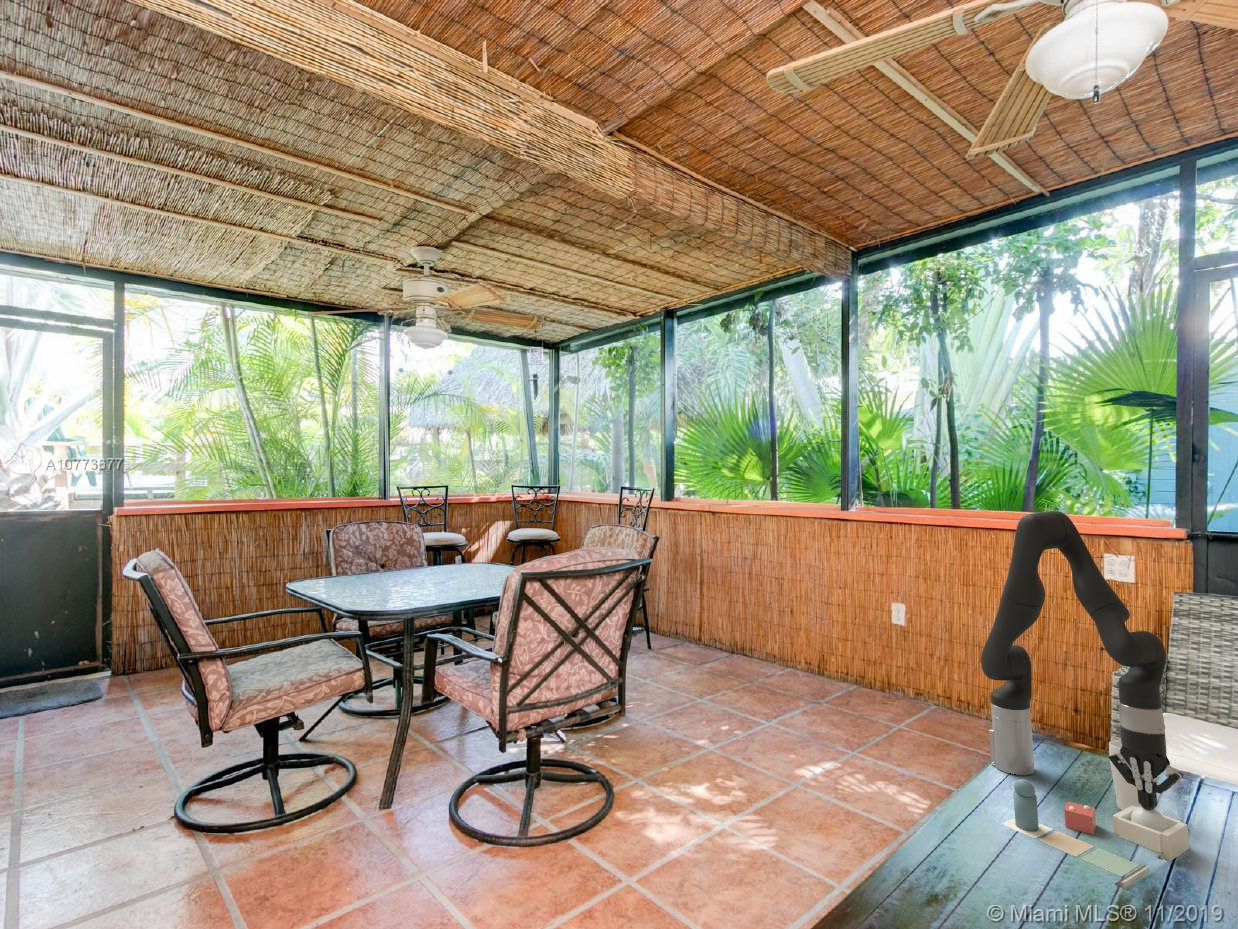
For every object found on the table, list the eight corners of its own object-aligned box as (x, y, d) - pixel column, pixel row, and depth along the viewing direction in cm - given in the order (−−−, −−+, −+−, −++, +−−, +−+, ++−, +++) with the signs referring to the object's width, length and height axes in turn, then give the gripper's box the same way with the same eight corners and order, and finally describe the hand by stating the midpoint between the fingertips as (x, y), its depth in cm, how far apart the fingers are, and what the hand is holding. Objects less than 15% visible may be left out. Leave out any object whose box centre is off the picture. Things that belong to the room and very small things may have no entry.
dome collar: (1112, 840, 137) (1110, 816, 137) (1135, 827, 141) (1133, 804, 142) (1168, 862, 128) (1166, 837, 128) (1190, 848, 133) (1188, 823, 133)
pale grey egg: (1127, 839, 136) (1124, 806, 136) (1140, 831, 139) (1138, 799, 139) (1161, 852, 131) (1158, 818, 131) (1174, 844, 134) (1172, 810, 134)
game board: (993, 829, 142) (993, 823, 142) (1019, 817, 147) (1019, 812, 147) (1123, 888, 120) (1123, 881, 120) (1149, 872, 125) (1148, 865, 125)
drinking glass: (1136, 803, 152) (1131, 740, 153) (1157, 817, 145) (1152, 751, 146) (1106, 803, 152) (1101, 739, 153) (1125, 817, 146) (1121, 751, 147)
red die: (1066, 833, 140) (1064, 807, 140) (1069, 824, 144) (1067, 798, 144) (1094, 840, 137) (1092, 814, 137) (1096, 831, 140) (1094, 805, 141)
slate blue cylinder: (1011, 825, 142) (1008, 778, 142) (1022, 819, 144) (1019, 774, 144) (1031, 833, 138) (1028, 786, 138) (1043, 828, 140) (1039, 781, 140)
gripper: (1097, 720, 140) (1103, 800, 139) (1171, 739, 128) (1178, 826, 127) (1115, 714, 144) (1121, 792, 143) (1188, 731, 132) (1195, 817, 131)
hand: (1148, 808), depth 135 cm, fingers closed
